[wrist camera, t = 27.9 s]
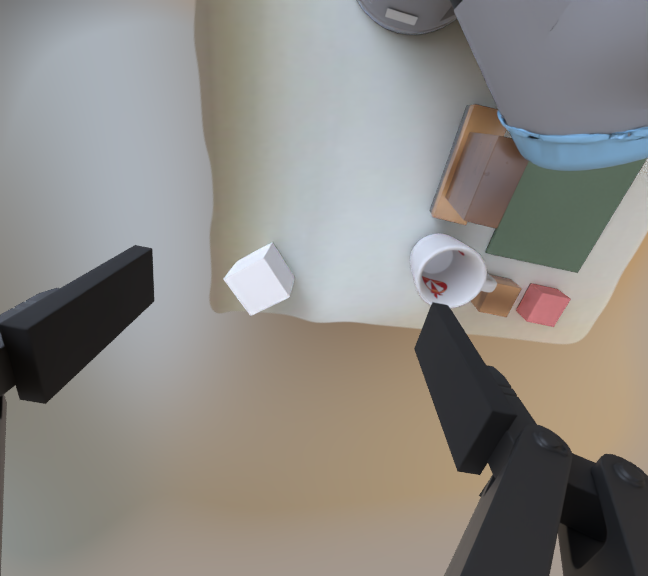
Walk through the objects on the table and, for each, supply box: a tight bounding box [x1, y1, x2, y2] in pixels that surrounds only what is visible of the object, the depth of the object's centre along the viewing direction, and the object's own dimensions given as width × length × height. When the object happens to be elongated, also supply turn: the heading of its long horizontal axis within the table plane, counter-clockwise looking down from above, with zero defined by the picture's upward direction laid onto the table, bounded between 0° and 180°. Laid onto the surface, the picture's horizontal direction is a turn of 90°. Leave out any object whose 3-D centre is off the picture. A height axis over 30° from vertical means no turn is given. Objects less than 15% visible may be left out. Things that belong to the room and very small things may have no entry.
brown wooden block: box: [430, 104, 529, 228], centre depth 33 cm, size 12×4×14 cm, turn 168°
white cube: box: [224, 242, 295, 315], centre depth 44 cm, size 6×6×6 cm
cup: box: [410, 233, 497, 308], centre depth 41 cm, size 11×8×8 cm
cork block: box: [471, 275, 521, 317], centre depth 45 cm, size 4×4×3 cm
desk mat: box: [486, 158, 647, 273], centre depth 40 cm, size 18×13×1 cm
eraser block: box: [516, 284, 571, 327], centre depth 45 cm, size 4×4×3 cm
